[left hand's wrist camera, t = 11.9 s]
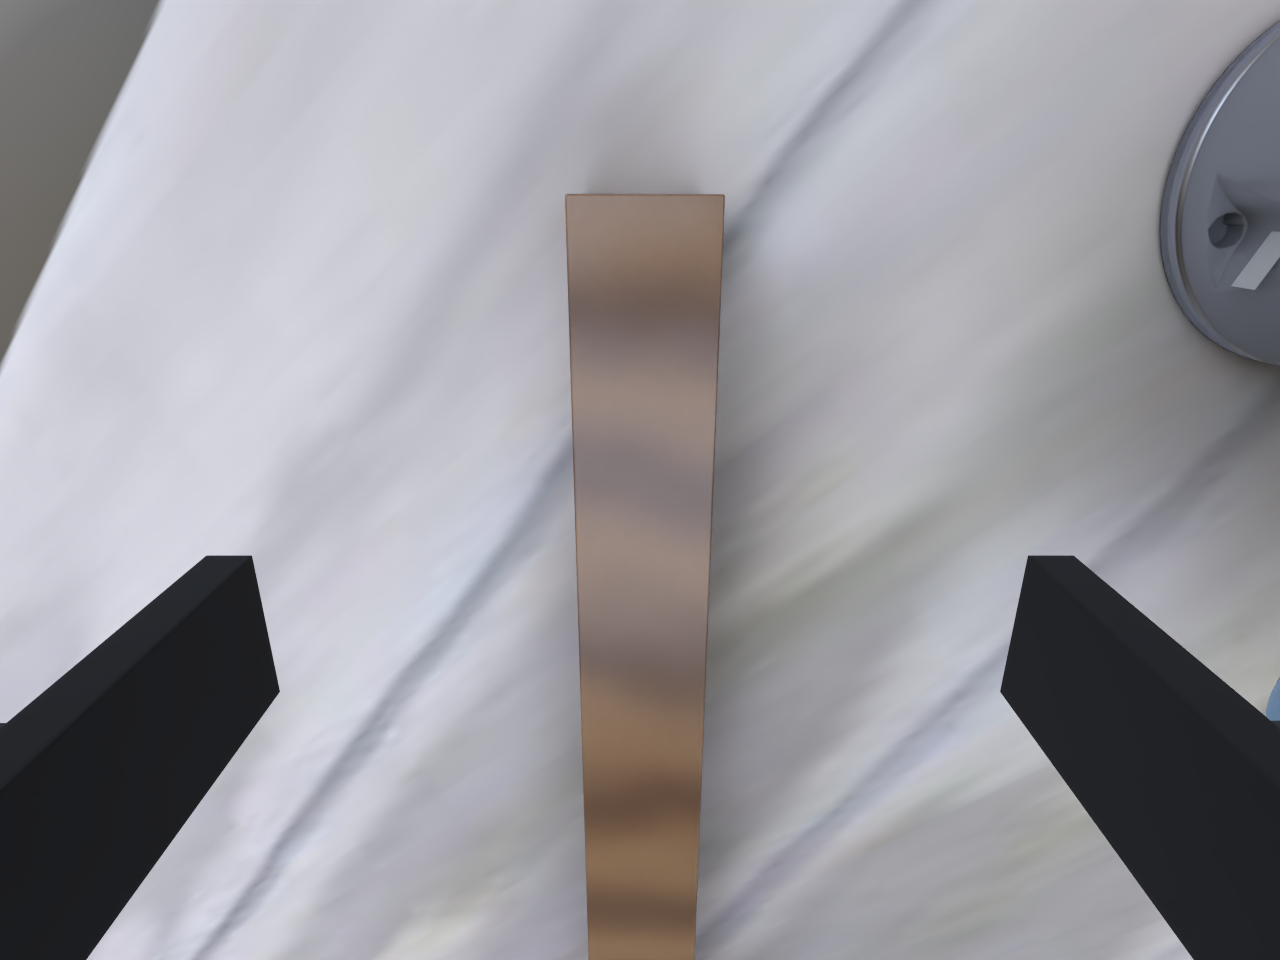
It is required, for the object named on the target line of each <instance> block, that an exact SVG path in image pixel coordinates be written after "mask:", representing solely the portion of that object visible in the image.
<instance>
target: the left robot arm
mask: <svg viewBox="0 0 1280 960" xmlns="http://www.w3.org/2000/svg"><path fill="white" fill-rule="evenodd" d="M1160 237H1161V251H1162V257H1163V263H1164V268H1165V272H1166V275H1167V278H1168V282H1169V285H1170V287H1171V289H1172V292H1173V294H1174V296H1175V298H1176V300H1177V302H1178V303H1179V305H1180V307H1181V309H1182V310H1183V312H1184V313H1185V314H1186V316H1187V317H1188V318H1189V320H1190V321H1191V322H1192V323H1193V324H1194V325H1195V326H1196V327H1197V328H1198V329H1199V330H1200V331H1201V332H1202V333H1203V334H1204V335H1206V336H1207V337H1208V338H1209V339H1211V340H1212V341H1213V342H1215V343H1216V344H1218V345H1220V346H1221V347H1223V348H1225V349H1227V350H1229V351H1231V352H1234V353H1236V354H1238V355H1241V356H1244V357H1247V358H1250V359H1254V360H1257V361H1261V362H1265V363H1268V364H1272V365H1276V366H1280V21H1278V22H1277V23H1276V24H1275V25H1273V26H1272V27H1271V28H1269V29H1268V30H1267V31H1266V32H1264V33H1263V34H1262V35H1261V36H1260V37H1258V38H1257V39H1256V40H1255V41H1254V42H1253V43H1252V44H1251V45H1250V46H1248V47H1247V48H1246V49H1245V50H1244V51H1243V52H1242V53H1241V54H1240V55H1239V56H1238V58H1237V59H1236V60H1235V61H1234V62H1233V63H1232V64H1231V65H1230V66H1229V67H1228V68H1227V70H1226V71H1225V72H1224V73H1223V74H1222V76H1221V77H1220V78H1219V79H1218V81H1217V82H1216V83H1215V84H1214V86H1213V87H1212V88H1211V90H1210V91H1209V93H1208V94H1207V96H1206V97H1205V98H1204V100H1203V101H1202V103H1201V104H1200V106H1199V108H1198V110H1197V111H1196V113H1195V115H1194V116H1193V118H1192V120H1191V121H1190V123H1189V125H1188V127H1187V129H1186V131H1185V133H1184V135H1183V137H1182V139H1181V142H1180V144H1179V147H1178V149H1177V152H1176V154H1175V157H1174V159H1173V162H1172V165H1171V169H1170V172H1169V175H1168V178H1167V183H1166V187H1165V192H1164V197H1163V203H1162V211H1161V228H1160ZM279 692H280V690H279V685H278V681H277V676H276V671H275V666H274V661H273V656H272V651H271V647H270V642H269V637H268V632H267V627H266V622H265V617H264V612H263V608H262V603H261V598H260V593H259V588H258V583H257V578H256V574H255V569H254V564H253V559H252V556H206V557H204V558H203V559H202V560H201V561H200V562H198V563H197V564H196V565H195V566H194V567H192V568H191V569H190V570H189V571H188V572H186V573H185V574H184V575H183V576H182V577H181V578H179V579H178V580H177V581H176V582H175V583H173V584H172V585H171V586H170V587H169V588H167V589H166V590H165V591H164V592H163V593H161V594H160V595H159V596H158V597H157V598H155V599H154V600H153V601H152V602H151V603H149V604H148V605H147V606H146V607H145V608H143V609H142V610H141V611H140V612H139V613H138V614H136V615H135V616H134V617H133V618H132V619H130V620H129V621H128V622H127V623H126V624H124V625H123V626H122V627H121V628H120V629H118V630H117V631H116V632H115V633H114V634H112V635H111V636H110V637H109V638H108V639H106V640H105V641H104V642H103V643H102V644H100V645H99V646H98V647H97V648H96V649H94V650H93V651H92V652H91V653H90V654H89V655H87V656H86V657H85V658H84V659H83V660H81V661H80V662H79V663H78V664H77V665H75V666H74V667H73V668H72V669H71V670H69V671H68V672H67V673H66V674H65V675H63V676H62V677H61V678H60V679H59V680H57V681H56V682H55V683H54V684H53V685H51V686H50V687H49V688H48V689H47V690H45V691H44V692H43V693H42V694H41V695H40V696H38V697H37V698H36V699H35V700H34V701H32V702H31V703H30V704H29V705H28V706H26V707H25V708H24V709H23V710H22V711H20V712H19V713H18V714H17V715H16V716H14V717H13V718H12V719H11V720H10V721H8V722H7V723H0V960H86V959H87V958H88V956H89V955H90V954H91V952H92V951H93V949H94V948H95V947H96V945H97V944H98V943H99V941H100V940H101V938H102V937H103V936H104V934H105V933H106V931H107V930H108V929H109V927H110V926H111V925H112V923H113V922H114V920H115V919H116V918H117V916H118V915H119V913H120V912H121V911H122V909H123V908H124V907H125V905H126V904H127V902H128V901H129V900H130V898H131V897H132V896H133V894H134V893H135V891H136V890H137V889H138V887H139V886H140V884H141V883H142V882H143V880H144V879H145V878H146V876H147V875H148V873H149V872H150V871H151V869H152V868H153V866H154V865H155V864H156V862H157V861H158V860H159V858H160V857H161V855H162V854H163V853H164V851H165V850H166V848H167V847H168V846H169V844H170V843H171V842H172V840H173V839H174V837H175V836H176V835H177V833H178V832H179V830H180V829H181V828H182V826H183V825H184V824H185V822H186V821H187V819H188V818H189V817H190V815H191V814H192V812H193V811H194V810H195V808H196V807H197V806H198V804H199V803H200V801H201V800H202V799H203V797H204V796H205V794H206V793H207V792H208V790H209V789H210V788H211V786H212V785H213V783H214V782H215V781H216V779H217V778H218V776H219V775H220V774H221V772H222V771H223V770H224V768H225V767H226V765H227V764H228V763H229V761H230V760H231V758H232V757H233V756H234V754H235V753H236V752H237V750H238V749H239V747H240V746H241V745H242V743H243V742H244V740H245V739H246V738H247V736H248V735H249V734H250V732H251V731H252V729H253V728H254V727H255V725H256V724H257V722H258V721H259V720H260V718H261V717H262V716H263V714H264V713H265V711H266V710H267V709H268V707H269V706H270V704H271V703H272V702H273V700H274V699H275V698H276V696H277V695H278V693H279ZM1000 692H1001V693H1002V695H1003V696H1004V698H1005V699H1006V700H1007V702H1008V703H1009V704H1010V706H1011V707H1012V709H1013V710H1014V711H1015V713H1016V714H1017V716H1018V717H1019V718H1020V720H1021V721H1022V722H1023V724H1024V725H1025V727H1026V728H1027V729H1028V731H1029V732H1030V734H1031V735H1032V736H1033V738H1034V739H1035V740H1036V742H1037V743H1038V745H1039V746H1040V747H1041V749H1042V750H1043V752H1044V753H1045V754H1046V756H1047V757H1048V758H1049V760H1050V761H1051V763H1052V764H1053V765H1054V767H1055V768H1056V770H1057V771H1058V772H1059V774H1060V775H1061V776H1062V778H1063V779H1064V781H1065V782H1066V783H1067V785H1068V786H1069V788H1070V789H1071V790H1072V792H1073V793H1074V794H1075V796H1076V797H1077V799H1078V800H1079V801H1080V803H1081V804H1082V806H1083V807H1084V808H1085V810H1086V811H1087V812H1088V814H1089V815H1090V817H1091V818H1092V819H1093V821H1094V822H1095V824H1096V825H1097V826H1098V828H1099V829H1100V830H1101V832H1102V833H1103V835H1104V836H1105V837H1106V839H1107V840H1108V842H1109V843H1110V844H1111V846H1112V847H1113V848H1114V850H1115V851H1116V853H1117V854H1118V855H1119V857H1120V858H1121V860H1122V861H1123V862H1124V864H1125V865H1126V866H1127V868H1128V869H1129V871H1130V872H1131V873H1132V875H1133V876H1134V878H1135V879H1136V880H1137V882H1138V883H1139V884H1140V886H1141V887H1142V889H1143V890H1144V891H1145V893H1146V894H1147V896H1148V897H1149V898H1150V900H1151V901H1152V902H1153V904H1154V905H1155V907H1156V908H1157V909H1158V911H1159V912H1160V913H1161V915H1162V916H1163V918H1164V919H1165V920H1166V922H1167V923H1168V925H1169V926H1170V927H1171V929H1172V930H1173V931H1174V933H1175V934H1176V936H1177V937H1178V938H1179V940H1180V941H1181V943H1182V944H1183V945H1184V947H1185V948H1186V949H1187V951H1188V952H1189V954H1190V955H1191V956H1192V958H1193V959H1194V960H1280V677H1279V679H1278V681H1277V683H1276V685H1275V687H1274V689H1273V691H1272V693H1271V695H1270V698H1269V701H1268V704H1267V709H1266V716H1264V715H1263V714H1262V713H1261V712H1260V711H1258V710H1257V709H1256V708H1255V707H1254V706H1252V705H1251V704H1250V703H1249V702H1248V701H1246V700H1245V699H1244V698H1243V697H1242V696H1240V695H1239V694H1238V693H1237V692H1236V691H1235V690H1233V689H1232V688H1231V687H1230V686H1229V685H1227V684H1226V683H1225V682H1224V681H1223V680H1221V679H1220V678H1219V677H1218V676H1217V675H1215V674H1214V673H1213V672H1212V671H1211V670H1209V669H1208V668H1207V667H1206V666H1205V665H1203V664H1202V663H1201V662H1200V661H1199V660H1197V659H1196V658H1195V657H1194V656H1193V655H1191V654H1190V653H1189V652H1188V651H1187V650H1186V649H1184V648H1183V647H1182V646H1181V645H1180V644H1178V643H1177V642H1176V641H1175V640H1174V639H1172V638H1171V637H1170V636H1169V635H1168V634H1166V633H1165V632H1164V631H1163V630H1162V629H1160V628H1159V627H1158V626H1157V625H1156V624H1154V623H1153V622H1152V621H1151V620H1150V619H1148V618H1147V617H1146V616H1145V615H1144V614H1142V613H1141V612H1140V611H1139V610H1138V609H1137V608H1135V607H1134V606H1133V605H1132V604H1131V603H1129V602H1128V601H1127V600H1126V599H1125V598H1123V597H1122V596H1121V595H1120V594H1119V593H1117V592H1116V591H1115V590H1114V589H1113V588H1111V587H1110V586H1109V585H1108V584H1107V583H1105V582H1104V581H1103V580H1102V579H1101V578H1099V577H1098V576H1097V575H1096V574H1095V573H1094V572H1092V571H1091V570H1090V569H1089V568H1088V567H1086V566H1085V565H1084V564H1083V563H1082V562H1080V561H1079V560H1078V559H1077V558H1076V557H1074V556H1028V559H1027V564H1026V569H1025V574H1024V578H1023V583H1022V588H1021V593H1020V598H1019V603H1018V608H1017V612H1016V617H1015V622H1014V627H1013V632H1012V637H1011V642H1010V647H1009V651H1008V656H1007V661H1006V666H1005V671H1004V676H1003V681H1002V685H1001V690H1000Z"/></svg>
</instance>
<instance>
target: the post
mask: <svg viewBox="0 0 1280 960" xmlns="http://www.w3.org/2000/svg"><path fill="white" fill-rule="evenodd" d="M724 205H725V195H723V194H566V195H565V208H566V240H567V272H568V304H569V337H570V369H571V401H572V434H573V466H574V498H575V531H576V563H577V595H578V628H579V660H580V692H581V725H582V757H583V789H584V822H585V854H586V886H587V918H588V951H589V960H694V955H695V930H696V905H697V880H698V855H699V830H700V805H701V780H702V755H703V730H704V705H705V680H706V655H707V630H708V605H709V580H710V555H711V530H712V505H713V480H714V455H715V430H716V405H717V380H718V355H719V330H720V305H721V280H722V255H723V230H724Z"/></svg>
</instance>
